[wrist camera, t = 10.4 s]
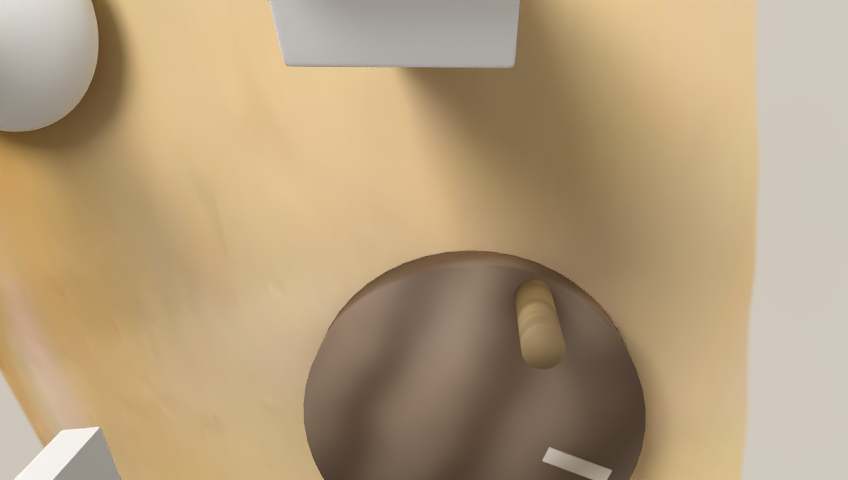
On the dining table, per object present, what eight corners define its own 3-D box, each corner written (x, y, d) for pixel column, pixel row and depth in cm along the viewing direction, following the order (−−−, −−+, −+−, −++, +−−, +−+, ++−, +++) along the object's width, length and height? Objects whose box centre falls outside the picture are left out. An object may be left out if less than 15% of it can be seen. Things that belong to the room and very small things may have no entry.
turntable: (277, 467, 44) (231, 571, 36) (373, 200, 37) (344, 253, 29) (552, 566, 45) (569, 690, 37) (694, 323, 38) (753, 407, 30)
